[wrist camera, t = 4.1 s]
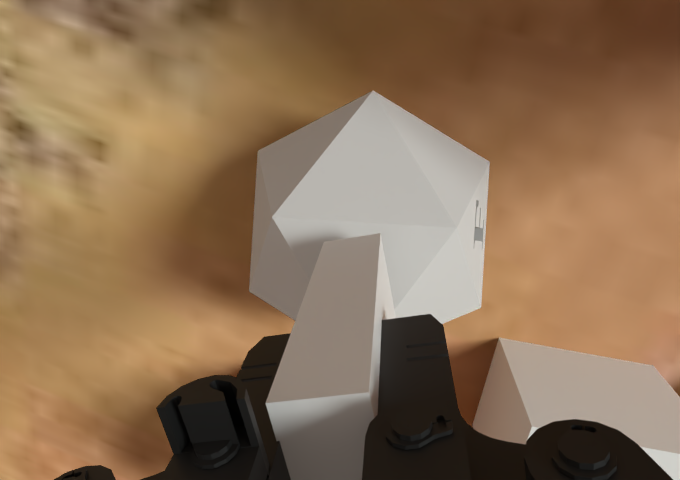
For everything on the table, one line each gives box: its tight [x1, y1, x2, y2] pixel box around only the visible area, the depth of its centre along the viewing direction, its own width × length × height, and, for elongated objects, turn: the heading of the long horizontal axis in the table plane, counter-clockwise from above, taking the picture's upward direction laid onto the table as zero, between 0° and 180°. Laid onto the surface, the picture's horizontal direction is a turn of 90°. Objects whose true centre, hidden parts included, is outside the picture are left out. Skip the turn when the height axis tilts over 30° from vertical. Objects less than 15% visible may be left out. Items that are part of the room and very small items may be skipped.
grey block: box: [473, 338, 680, 480], centre depth 21 cm, size 7×5×6 cm
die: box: [249, 91, 490, 324], centre depth 18 cm, size 8×9×10 cm
